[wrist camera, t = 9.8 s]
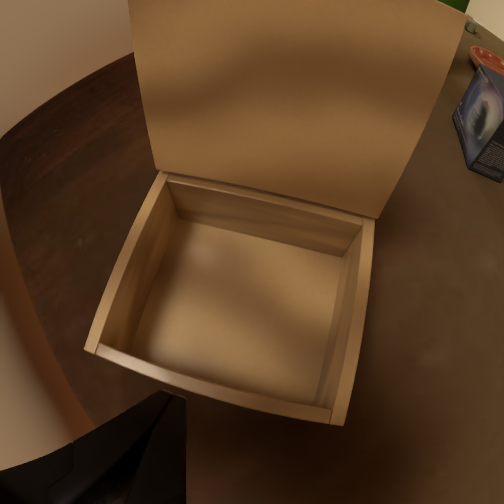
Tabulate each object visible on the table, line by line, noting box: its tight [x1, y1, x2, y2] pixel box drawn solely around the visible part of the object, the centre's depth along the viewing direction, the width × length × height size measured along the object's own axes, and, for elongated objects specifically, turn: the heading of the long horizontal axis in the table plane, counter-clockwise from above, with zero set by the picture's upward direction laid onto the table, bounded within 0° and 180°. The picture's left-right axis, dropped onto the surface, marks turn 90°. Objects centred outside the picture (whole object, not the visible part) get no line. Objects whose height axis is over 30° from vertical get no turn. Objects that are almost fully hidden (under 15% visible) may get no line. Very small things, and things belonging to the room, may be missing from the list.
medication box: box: [465, 14, 477, 33], centre depth 57 cm, size 12×3×4 cm, turn 154°
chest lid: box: [128, 0, 468, 219], centre depth 14 cm, size 13×15×5 cm
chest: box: [84, 171, 375, 426], centre depth 19 cm, size 13×15×6 cm
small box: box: [452, 63, 504, 183], centre depth 26 cm, size 11×6×10 cm, turn 167°
